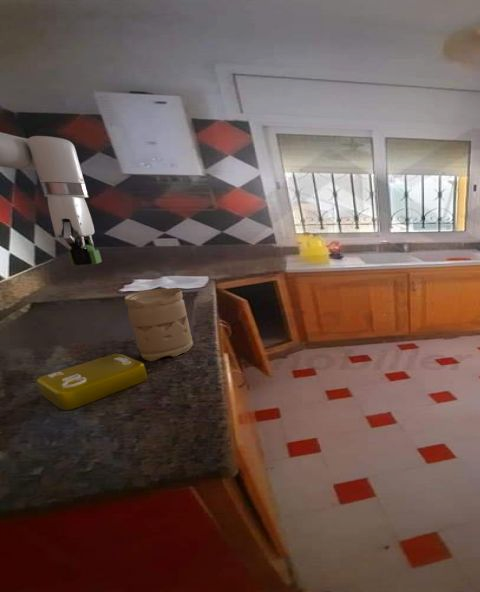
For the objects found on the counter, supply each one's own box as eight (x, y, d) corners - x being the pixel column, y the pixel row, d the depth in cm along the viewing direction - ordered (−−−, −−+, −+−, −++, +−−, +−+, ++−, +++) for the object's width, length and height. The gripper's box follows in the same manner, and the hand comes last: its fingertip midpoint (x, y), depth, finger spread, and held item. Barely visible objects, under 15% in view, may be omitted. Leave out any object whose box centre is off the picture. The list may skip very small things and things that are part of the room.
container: (198, 350, 95) (186, 293, 90) (144, 365, 86) (127, 302, 81) (187, 339, 103) (175, 286, 98) (136, 352, 94) (120, 294, 89)
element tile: (151, 379, 79) (146, 362, 77) (65, 413, 66) (58, 393, 64) (122, 366, 85) (117, 350, 84) (39, 395, 72) (32, 376, 71)
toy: (71, 265, 81) (65, 246, 80) (77, 263, 85) (72, 244, 83) (97, 263, 84) (91, 245, 82) (102, 261, 87) (97, 243, 86)
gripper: (59, 192, 84) (79, 260, 89) (25, 189, 70) (52, 269, 75) (97, 193, 88) (115, 258, 93) (73, 190, 74) (95, 266, 79)
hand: (86, 262), depth 84 cm, fingers closed on toy, 4 cm apart
